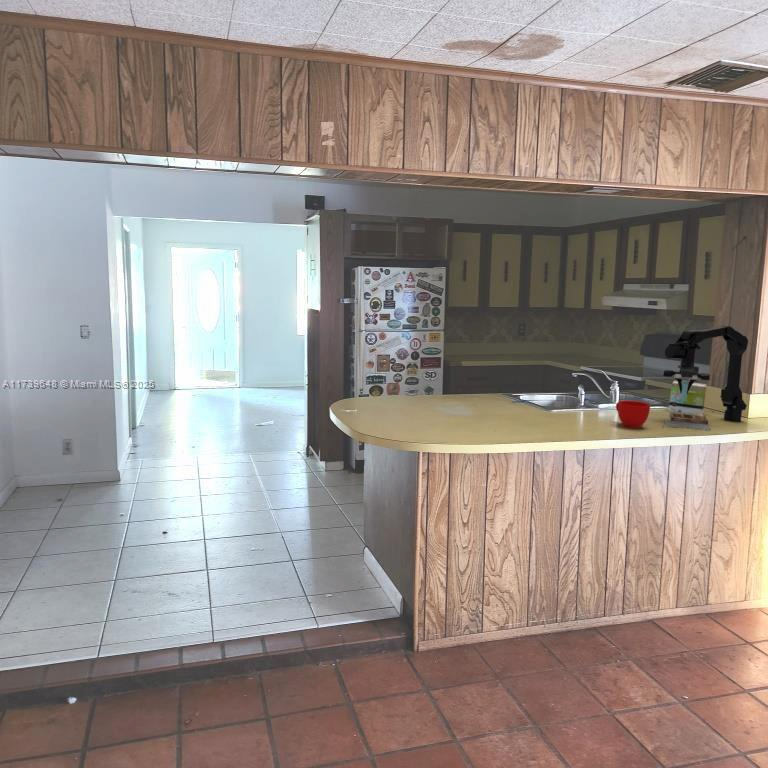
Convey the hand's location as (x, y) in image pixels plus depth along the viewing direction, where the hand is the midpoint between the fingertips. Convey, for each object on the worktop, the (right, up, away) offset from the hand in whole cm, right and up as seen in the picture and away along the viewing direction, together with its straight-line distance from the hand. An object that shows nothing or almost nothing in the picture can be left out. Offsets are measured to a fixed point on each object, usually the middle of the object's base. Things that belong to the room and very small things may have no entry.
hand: (683, 393), depth 298 cm
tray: (+4, -13, +6) cm, 15 cm away
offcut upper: (+8, -11, +4) cm, 14 cm away
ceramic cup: (-27, -14, -8) cm, 32 cm away
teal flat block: (0, -3, 0) cm, 3 cm away
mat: (-1, -14, -6) cm, 15 cm away
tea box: (+12, -10, +25) cm, 30 cm away
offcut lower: (+8, -12, +5) cm, 16 cm away
